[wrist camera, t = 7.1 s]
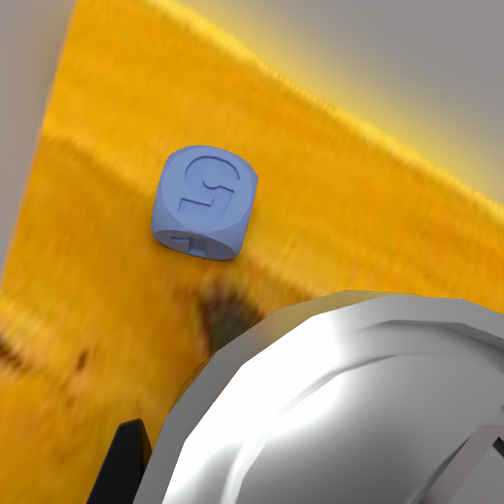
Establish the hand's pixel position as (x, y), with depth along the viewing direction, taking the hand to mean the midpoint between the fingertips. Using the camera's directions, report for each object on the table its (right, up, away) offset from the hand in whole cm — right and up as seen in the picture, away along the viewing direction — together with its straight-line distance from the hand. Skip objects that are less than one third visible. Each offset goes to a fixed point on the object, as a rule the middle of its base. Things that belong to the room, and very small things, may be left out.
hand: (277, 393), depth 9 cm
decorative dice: (-3, +4, +14) cm, 15 cm away
